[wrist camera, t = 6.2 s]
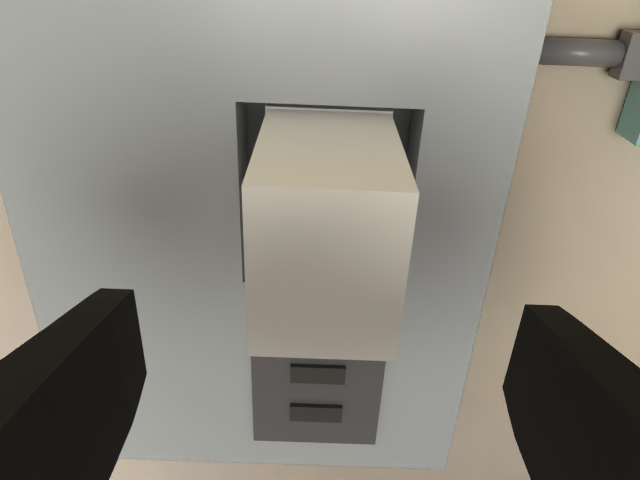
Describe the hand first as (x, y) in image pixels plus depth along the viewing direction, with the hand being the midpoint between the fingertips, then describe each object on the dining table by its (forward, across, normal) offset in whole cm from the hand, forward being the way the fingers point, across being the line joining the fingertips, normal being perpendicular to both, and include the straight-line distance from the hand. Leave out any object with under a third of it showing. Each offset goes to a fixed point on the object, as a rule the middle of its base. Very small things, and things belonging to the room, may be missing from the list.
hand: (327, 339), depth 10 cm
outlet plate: (+8, +2, +2) cm, 8 cm away
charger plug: (+8, 0, -1) cm, 8 cm away
